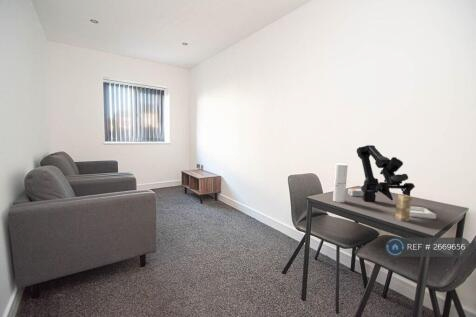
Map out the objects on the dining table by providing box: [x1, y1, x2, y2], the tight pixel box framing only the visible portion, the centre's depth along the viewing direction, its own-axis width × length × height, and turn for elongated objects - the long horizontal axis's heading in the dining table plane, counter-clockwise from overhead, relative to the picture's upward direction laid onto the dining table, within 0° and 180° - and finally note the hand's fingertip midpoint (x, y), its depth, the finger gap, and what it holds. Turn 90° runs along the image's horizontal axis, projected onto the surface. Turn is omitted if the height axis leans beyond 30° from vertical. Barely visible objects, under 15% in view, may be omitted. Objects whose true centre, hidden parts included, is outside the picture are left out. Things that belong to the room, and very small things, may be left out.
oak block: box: [394, 194, 413, 222], centre depth 121 cm, size 4×4×13 cm
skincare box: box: [347, 188, 364, 197], centre depth 167 cm, size 6×4×12 cm
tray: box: [410, 205, 437, 220], centre depth 130 cm, size 12×12×3 cm
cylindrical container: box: [332, 162, 349, 203], centre depth 151 cm, size 7×7×25 cm
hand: (400, 200), depth 123 cm, fingers open, 9 cm apart
